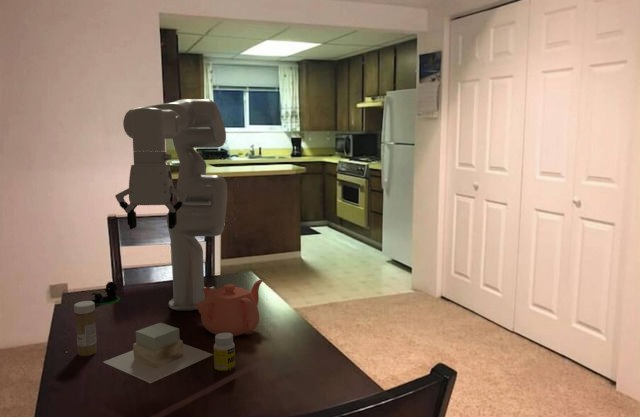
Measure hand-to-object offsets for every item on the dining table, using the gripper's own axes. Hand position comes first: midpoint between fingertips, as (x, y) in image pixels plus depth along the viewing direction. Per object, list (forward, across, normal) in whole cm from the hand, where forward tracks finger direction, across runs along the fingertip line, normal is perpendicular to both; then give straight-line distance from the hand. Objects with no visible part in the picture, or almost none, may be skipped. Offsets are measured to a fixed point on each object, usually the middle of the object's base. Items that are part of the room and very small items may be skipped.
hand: (152, 228), depth 131 cm
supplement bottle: (+31, -20, +14) cm, 40 cm away
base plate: (+31, -3, +10) cm, 32 cm away
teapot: (+30, -18, -10) cm, 36 cm away
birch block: (+30, -3, +10) cm, 31 cm away
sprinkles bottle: (+31, +15, +6) cm, 35 cm away
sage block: (+26, -3, +10) cm, 28 cm away
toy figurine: (+30, +28, -37) cm, 55 cm away
